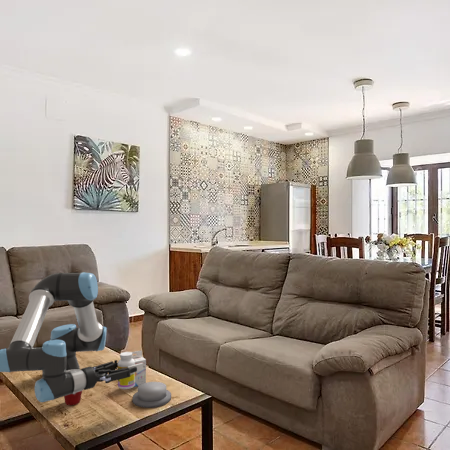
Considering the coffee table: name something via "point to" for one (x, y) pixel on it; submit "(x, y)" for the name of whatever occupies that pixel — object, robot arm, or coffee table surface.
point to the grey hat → (151, 395)
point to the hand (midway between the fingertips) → (137, 364)
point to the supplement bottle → (124, 363)
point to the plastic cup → (73, 396)
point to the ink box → (140, 375)
